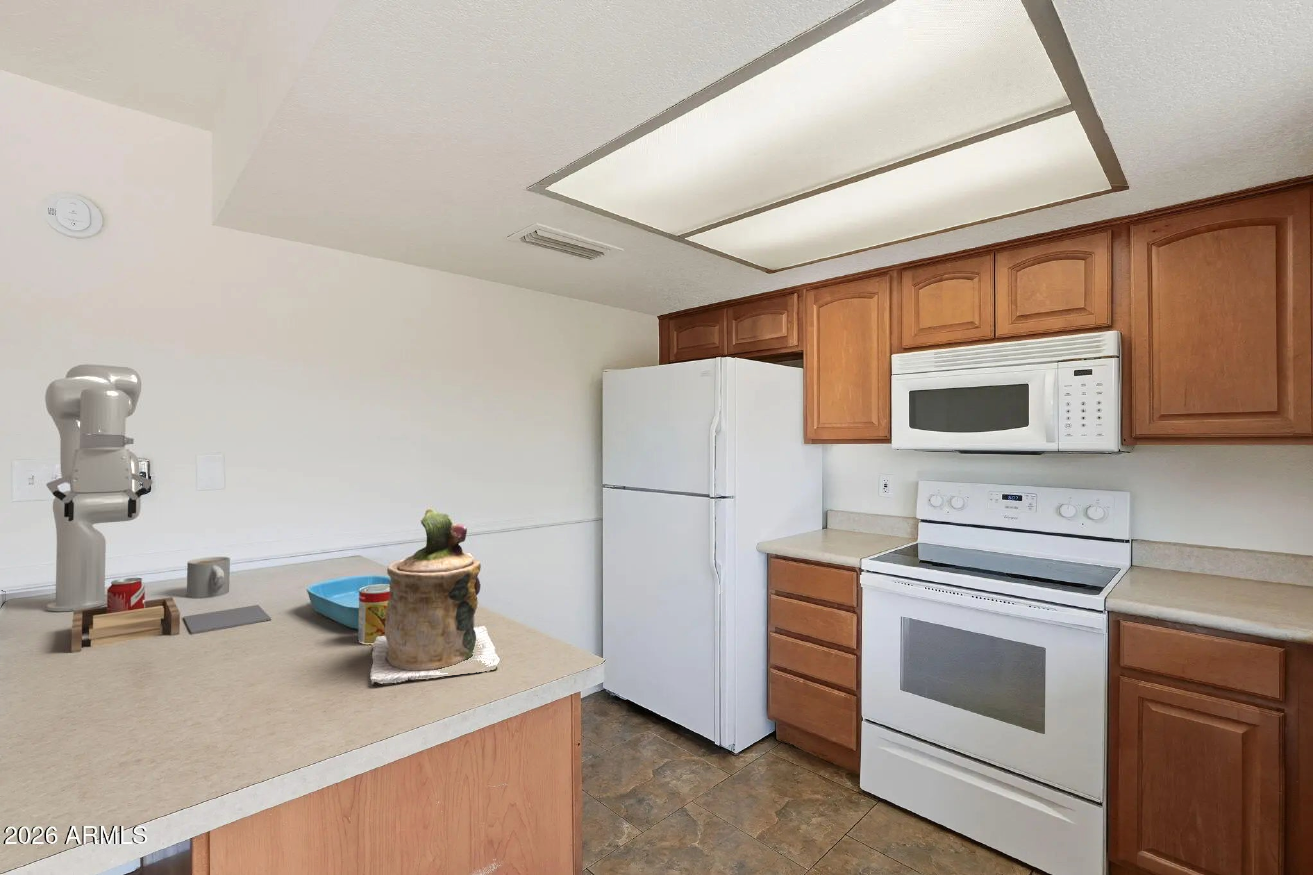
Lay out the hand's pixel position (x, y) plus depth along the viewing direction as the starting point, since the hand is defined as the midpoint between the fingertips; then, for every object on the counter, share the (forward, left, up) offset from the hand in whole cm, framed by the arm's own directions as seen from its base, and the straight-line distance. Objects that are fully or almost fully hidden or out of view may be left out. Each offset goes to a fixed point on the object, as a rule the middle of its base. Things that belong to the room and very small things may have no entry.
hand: (101, 518), depth 131 cm
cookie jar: (+59, +52, -28) cm, 83 cm away
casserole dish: (+17, +52, -28) cm, 61 cm away
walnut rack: (-4, +5, -28) cm, 29 cm away
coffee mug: (-32, +24, -28) cm, 49 cm away
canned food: (+39, +47, -28) cm, 67 cm away
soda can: (-6, +5, -28) cm, 29 cm away
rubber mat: (-1, +24, -28) cm, 37 cm away
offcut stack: (+1, +5, -28) cm, 29 cm away
